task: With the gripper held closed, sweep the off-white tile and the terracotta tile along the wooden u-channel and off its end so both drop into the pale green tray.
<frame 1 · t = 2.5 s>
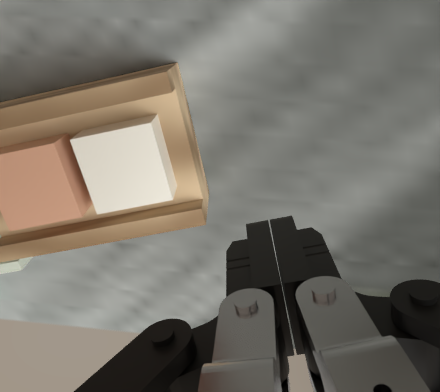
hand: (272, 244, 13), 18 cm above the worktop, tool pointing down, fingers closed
tile b: (46, 175, 28), point 4 cm above the worktop, touching wooden u-channel
tile a: (131, 158, 27), point 4 cm above the worktop, touching wooden u-channel
wooden u-channel: (98, 151, 31), on the worktop
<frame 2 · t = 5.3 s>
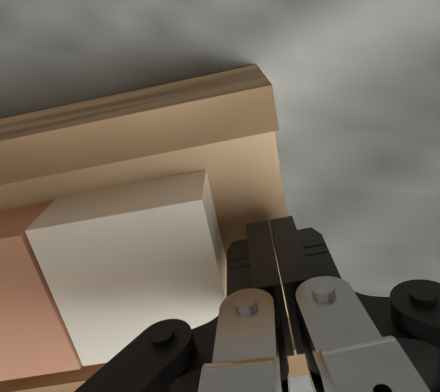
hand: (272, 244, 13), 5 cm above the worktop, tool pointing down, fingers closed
tile b: (13, 275, 15), point 4 cm above the worktop, touching wooden u-channel
tile a: (150, 249, 14), point 4 cm above the worktop, touching gripper
wooden u-channel: (108, 215, 18), on the worktop
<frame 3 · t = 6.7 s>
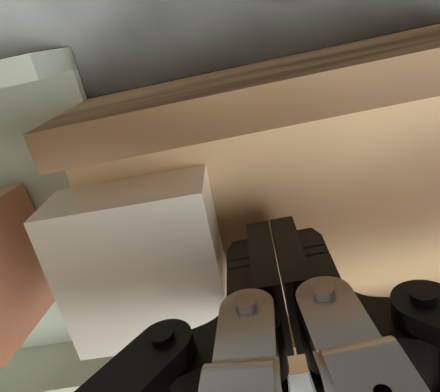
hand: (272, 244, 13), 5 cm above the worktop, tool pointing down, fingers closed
tile b: (13, 267, 15), point 3 cm above the worktop, tilted 97°, touching tray
tile a: (149, 244, 14), point 4 cm above the worktop, touching wooden u-channel, gripper
wooden u-channel: (292, 179, 17), on the worktop
tray: (29, 228, 19), on the worktop
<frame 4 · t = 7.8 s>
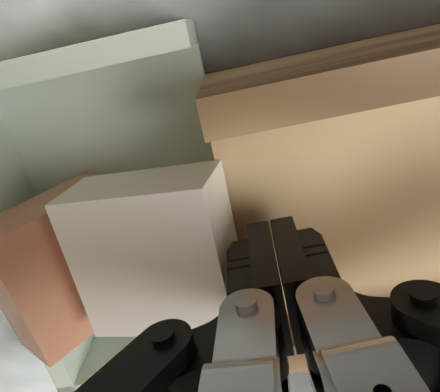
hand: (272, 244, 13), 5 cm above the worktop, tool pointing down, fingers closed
tile b: (84, 268, 15), point 4 cm above the worktop, tilted 130°, touching tile a, tray
tile a: (167, 234, 15), point 4 cm above the worktop, tilted 12°, touching wooden u-channel, gripper, tile b
wooden u-channel: (406, 157, 17), on the worktop
tray: (131, 209, 18), on the worktop
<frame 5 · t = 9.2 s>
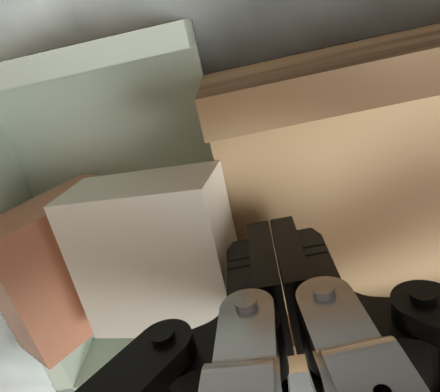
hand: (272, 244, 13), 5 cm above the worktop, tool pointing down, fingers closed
tile b: (83, 269, 15), point 4 cm above the worktop, tilted 130°, touching tile a, tray
tile a: (167, 234, 15), point 4 cm above the worktop, tilted 12°, touching wooden u-channel, gripper, tile b
wooden u-channel: (404, 157, 17), on the worktop
tray: (130, 210, 18), on the worktop
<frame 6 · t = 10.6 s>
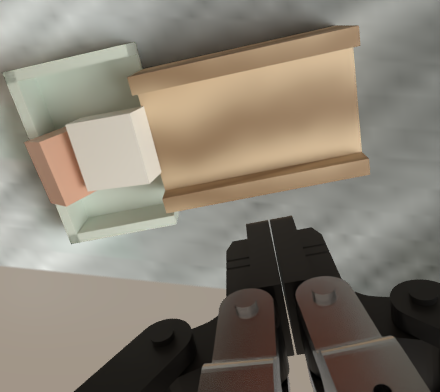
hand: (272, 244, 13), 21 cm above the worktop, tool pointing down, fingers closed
tile b: (82, 161, 31), point 4 cm above the worktop, tilted 130°, touching tile a, tray
tile a: (122, 144, 30), point 4 cm above the worktop, tilted 12°, touching wooden u-channel, tile b
wooden u-channel: (249, 112, 33), on the worktop
tray: (107, 141, 34), on the worktop
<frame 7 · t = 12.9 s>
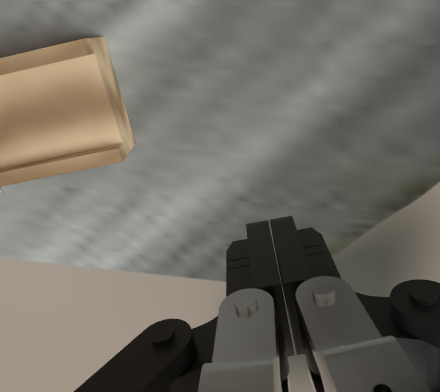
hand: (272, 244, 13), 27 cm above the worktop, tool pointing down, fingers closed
wooden u-channel: (45, 109, 39), on the worktop
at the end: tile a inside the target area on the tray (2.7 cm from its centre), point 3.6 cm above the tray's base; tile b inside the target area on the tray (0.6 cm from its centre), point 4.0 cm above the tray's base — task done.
